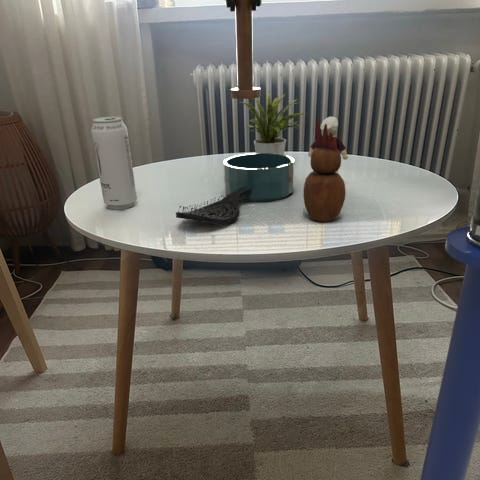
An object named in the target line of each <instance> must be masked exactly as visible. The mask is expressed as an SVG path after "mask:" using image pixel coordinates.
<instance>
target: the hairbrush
mask: <svg viewBox="0 0 480 480" xmlns="http://www.w3.org/2000/svg"><path fill="white" fill-rule="evenodd" d="M249 194H251V189H242V188H239V189H237V190H235V191H233V192H231V193H230V194H227V195H226V196H223V195H222V194H221V196H219V197H218V198H217V197H214V199H212V198H211V199H210V203H209V201H203V204H200V205H196V203H195V204H194V205H193V204H192V205H189V207H188V206H182V205H179V210H181V211H182V212H180V211H176V212H175V218H176V219H183V220H189V221H195V222H200V223H205V224H206V223H207V224H213V225H222V226H225V225H227V224H231V223H233V222H236V221H237V220H238V218H239V216H240V201H241V200H240V198H242V197H244V196H246V195H249ZM221 197H222V198H221ZM220 198H221V199H220ZM216 199H217V201H216ZM198 207H199V208H198ZM189 208H190V209H189Z"/></svg>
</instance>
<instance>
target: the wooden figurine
mask: <svg viewBox="0 0 480 480" xmlns="http://www.w3.org/2000/svg"><path fill="white" fill-rule="evenodd" d="M332 137H333V136H332V132H330V133H329V136H328V132H327V124H325V126H324V130H323V131H322V130H321V123H320V120H319V119H317V120H316V126H315V141H314V142H315V149H314V150H313V152H312V154H311V157H310V168H311V169H312V171H310V172H309V174H308V175H307V176H306V177H305V180H304V183H303V192H302V193H303V194H302V195H303V203H304V206H305V210H306V212H307V215H308V216H309V218H310V219H311V220H314V221H317V222H332V221H335V219H337V218H338V216H339V215H340V213H341V211H342V209H343V207H344V204H345V200H346V185H345V184H346V183H345V181H344V179H343V178H342V176H341V175H340V174H339V170H340V168H341V166H342V154H341V152H340V151H339V150H338V149H337V141H336V138H337V137H336V138H333V140H332ZM337 171H338V173H336V172H337Z"/></svg>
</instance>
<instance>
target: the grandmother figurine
mask: <svg viewBox="0 0 480 480" xmlns="http://www.w3.org/2000/svg"><path fill="white" fill-rule="evenodd" d="M325 124H327V132H328V136H329V133H330V132H332V140H333V138H336V141H337V149H338V150H339V152H340V154H341V158H342V160H344V161H346V160H348V159H349V155H348V152H347V148H346V146H345V145H344V143H343V141H342V140H341V139H340V138H339V137H336V136H335V135H336V133H337V132H338V131H337V130H338V127H339V120H338V118H337V117H335V116H331V115H330V116H328V117H326V118H325V119H323V121H322V123H320V128H321V132H323V130H324V126H325ZM314 149H315V141H314V142H312V144H311V145H310V148H309V151H308V152H307V155H308V157H309V158H311V154H312V152H313V150H314ZM336 173H338V174H339V170H338V171H337V172H336Z"/></svg>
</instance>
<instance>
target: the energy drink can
mask: <svg viewBox="0 0 480 480" xmlns="http://www.w3.org/2000/svg"><path fill="white" fill-rule="evenodd" d="M92 122H93V124H92V127H91V130H90V133H91V137H92V144H93V149H94V154H95V155H94V156H95V161H96V165H97V171H98V177H99V183H100V188H101V194H102V201H103V203H104V204H105V205H107V208H108V209H110V210H116V211H117V210H127V209H130V208H133V207H135V205H136V201H137V200H138V195H137V188H136V182H135V175H134V174H135V173H134V167H133V160H132V155H131V153H132V152H131V147H130V140H129V139H130V138H129V132H128V128H127V126H126V124H125V123H124V121H123V117H122V116H103V117H96V118H93V119H92Z"/></svg>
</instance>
